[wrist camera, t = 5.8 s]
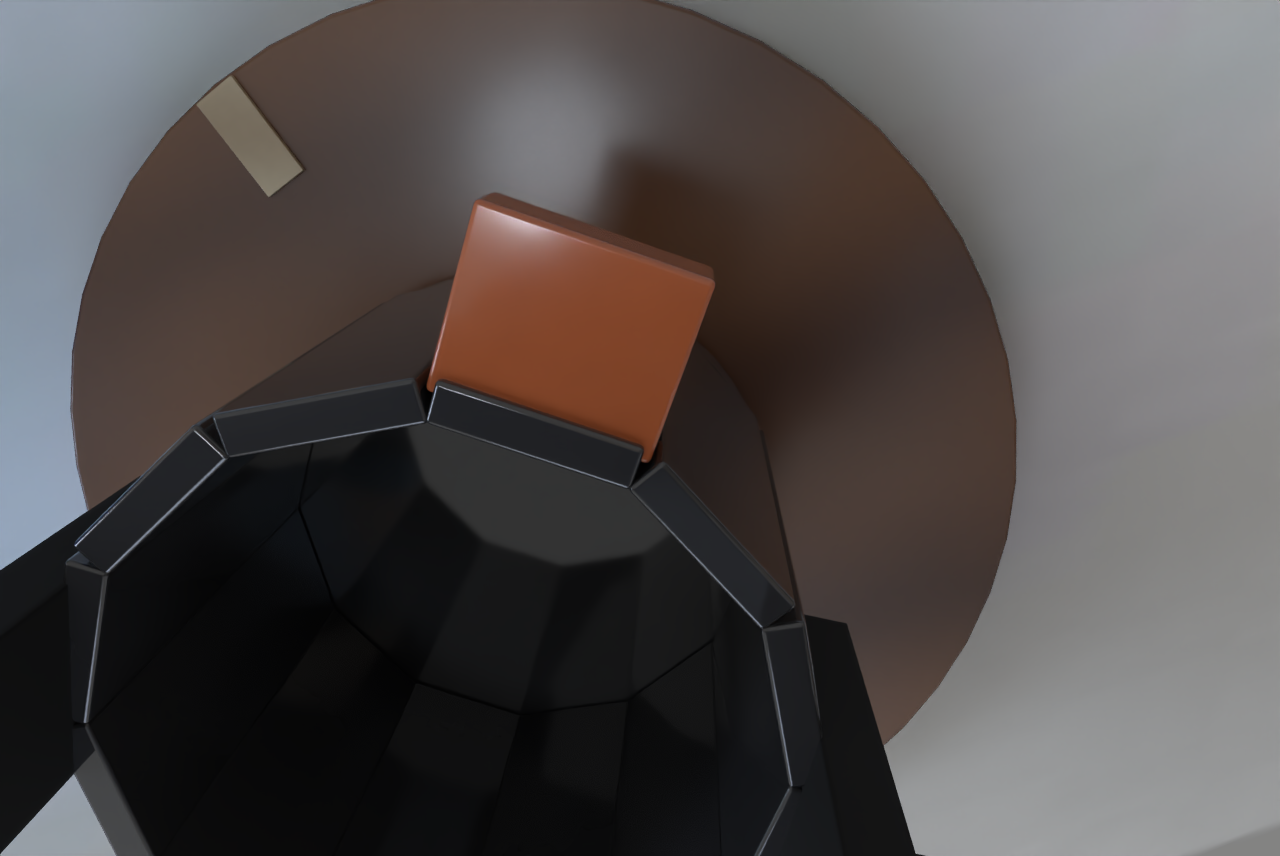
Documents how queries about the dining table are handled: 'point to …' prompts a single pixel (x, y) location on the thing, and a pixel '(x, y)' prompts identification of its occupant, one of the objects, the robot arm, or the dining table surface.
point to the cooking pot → (458, 585)
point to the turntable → (611, 200)
